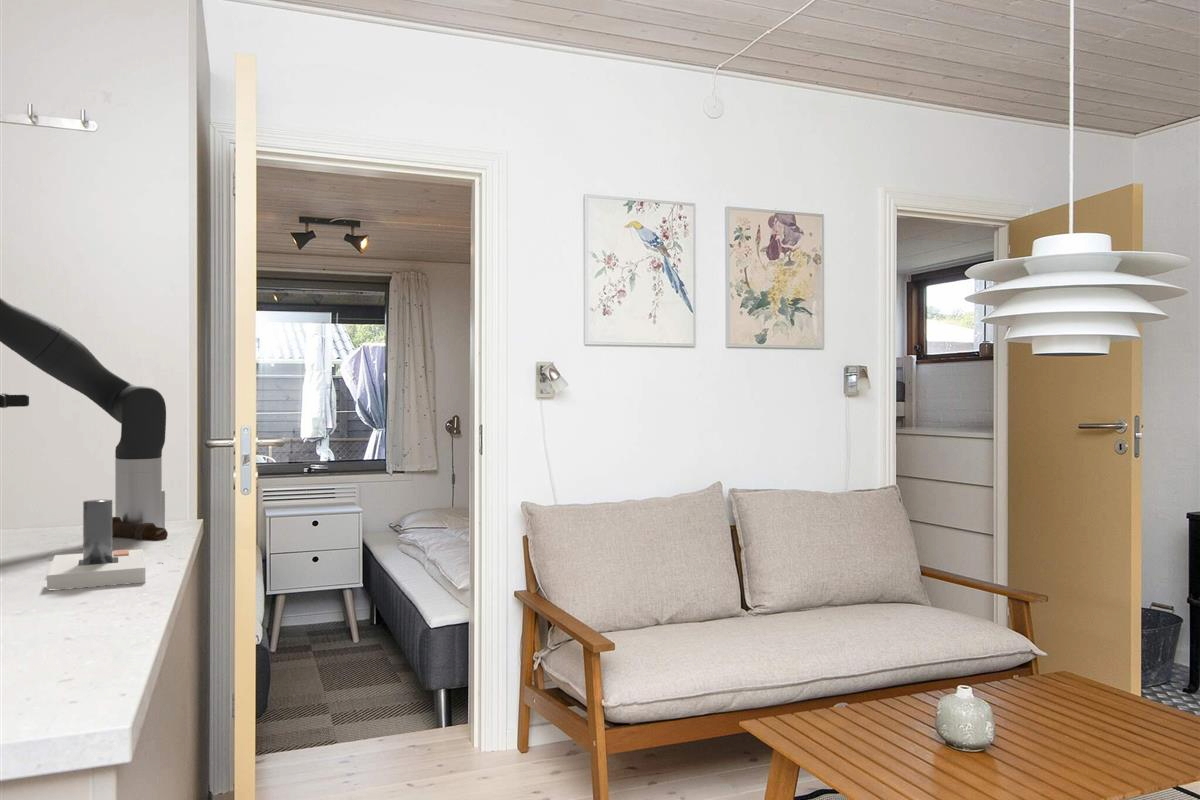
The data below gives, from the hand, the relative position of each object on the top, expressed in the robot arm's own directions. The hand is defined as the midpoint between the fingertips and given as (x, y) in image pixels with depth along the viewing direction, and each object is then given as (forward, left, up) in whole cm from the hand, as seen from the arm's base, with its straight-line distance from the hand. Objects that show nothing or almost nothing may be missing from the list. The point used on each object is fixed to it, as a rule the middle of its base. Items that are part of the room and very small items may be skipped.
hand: (17, 400), depth 162 cm
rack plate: (+2, +21, -30) cm, 37 cm away
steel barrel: (+2, +21, -30) cm, 37 cm away
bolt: (-28, 0, -31) cm, 41 cm away
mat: (-9, +5, -30) cm, 32 cm away
